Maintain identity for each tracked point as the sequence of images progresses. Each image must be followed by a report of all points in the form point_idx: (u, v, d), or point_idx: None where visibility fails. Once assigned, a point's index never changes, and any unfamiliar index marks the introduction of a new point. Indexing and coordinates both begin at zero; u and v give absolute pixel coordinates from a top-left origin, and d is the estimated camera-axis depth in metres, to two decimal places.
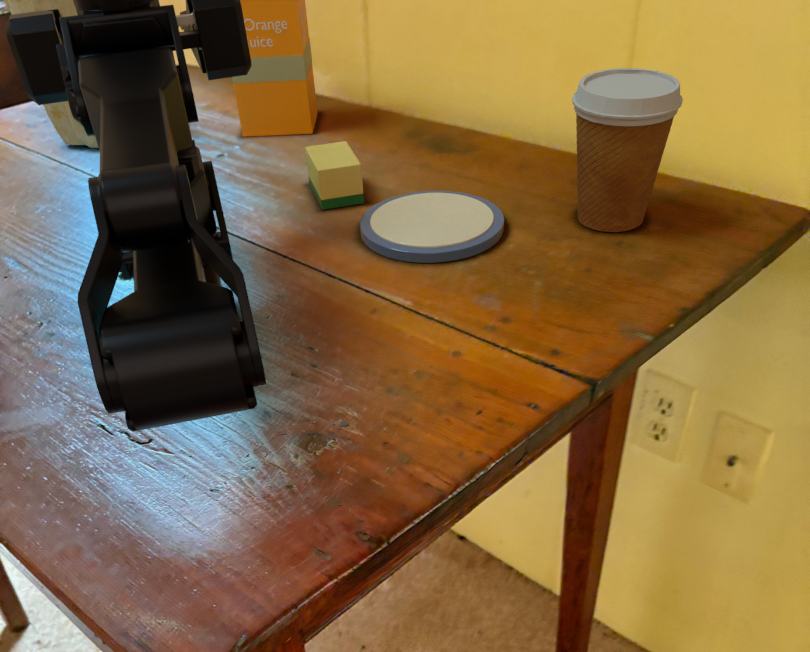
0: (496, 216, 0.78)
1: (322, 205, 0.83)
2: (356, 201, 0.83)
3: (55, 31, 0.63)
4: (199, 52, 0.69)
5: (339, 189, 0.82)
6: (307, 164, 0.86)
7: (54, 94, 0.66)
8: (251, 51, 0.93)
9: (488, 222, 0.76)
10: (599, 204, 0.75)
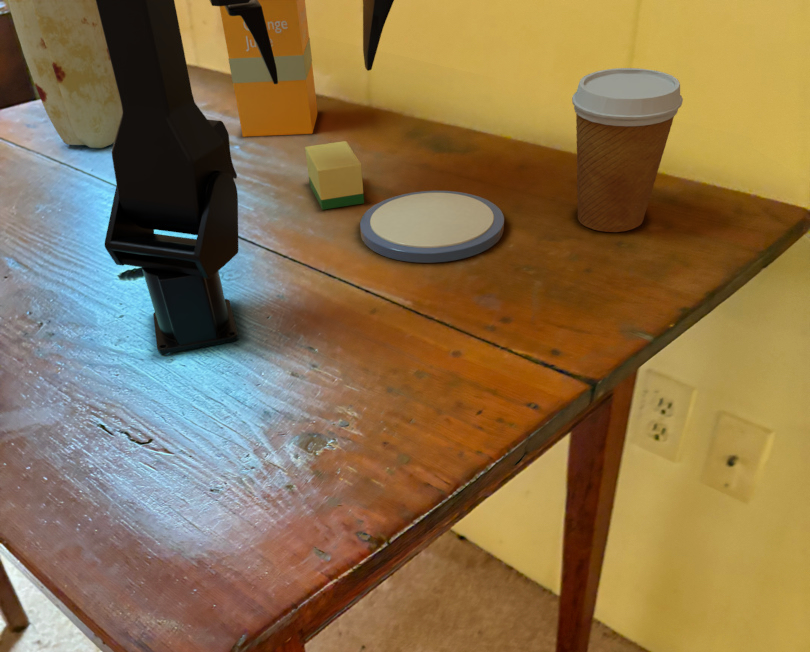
0: (496, 216, 0.78)
1: (322, 205, 0.83)
2: (356, 201, 0.83)
3: None
4: None
5: (339, 189, 0.82)
6: (307, 164, 0.86)
7: None
8: (251, 51, 0.93)
9: (488, 222, 0.76)
10: (599, 204, 0.75)
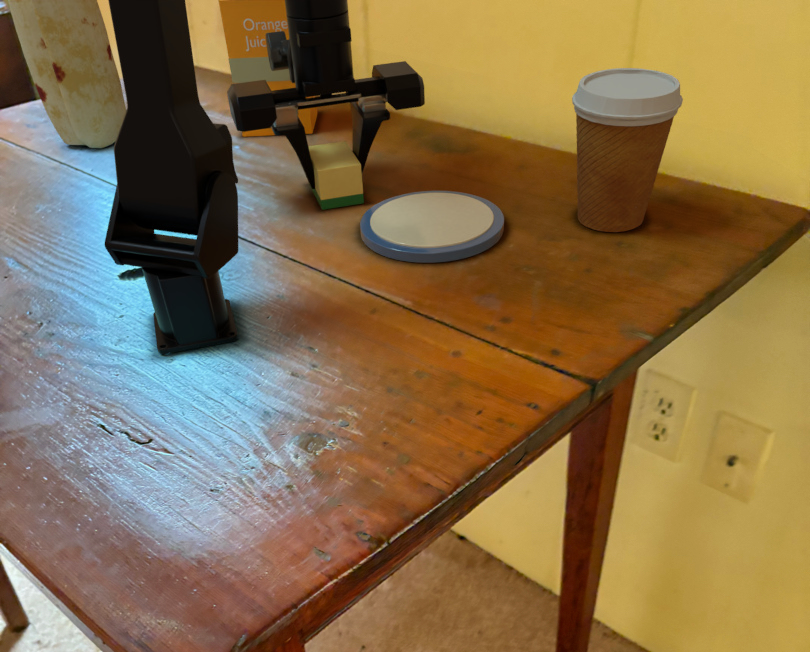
0: (496, 216, 0.78)
1: (322, 205, 0.83)
2: (356, 201, 0.83)
3: (264, 80, 0.78)
4: (360, 113, 0.79)
5: (339, 189, 0.82)
6: None
7: (254, 97, 0.75)
8: (251, 51, 0.93)
9: (488, 222, 0.76)
10: (599, 204, 0.75)
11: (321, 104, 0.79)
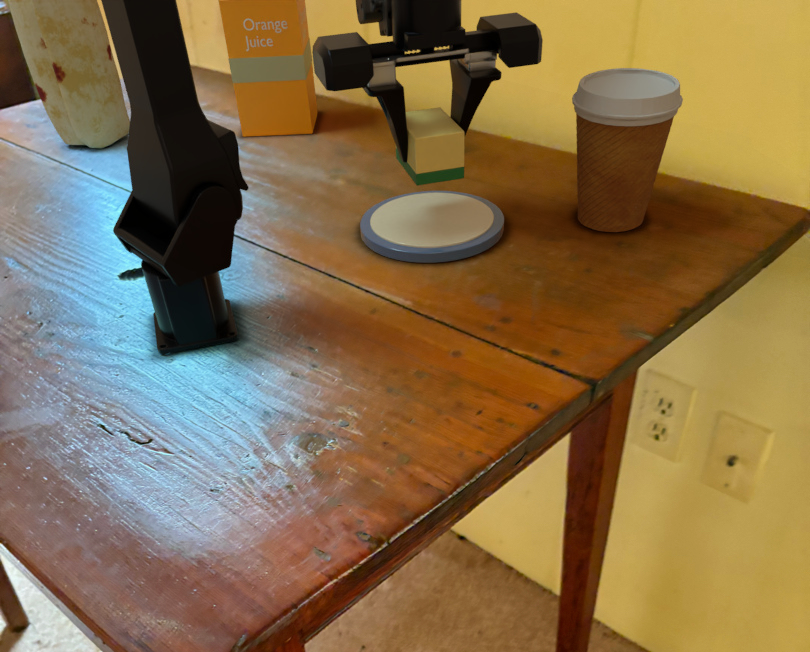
0: (496, 216, 0.78)
1: (417, 180, 0.71)
2: (455, 176, 0.72)
3: (356, 32, 0.67)
4: (466, 72, 0.68)
5: (437, 161, 0.71)
6: None
7: (348, 50, 0.64)
8: (251, 51, 0.93)
9: (488, 222, 0.76)
10: (599, 204, 0.75)
11: (421, 61, 0.68)
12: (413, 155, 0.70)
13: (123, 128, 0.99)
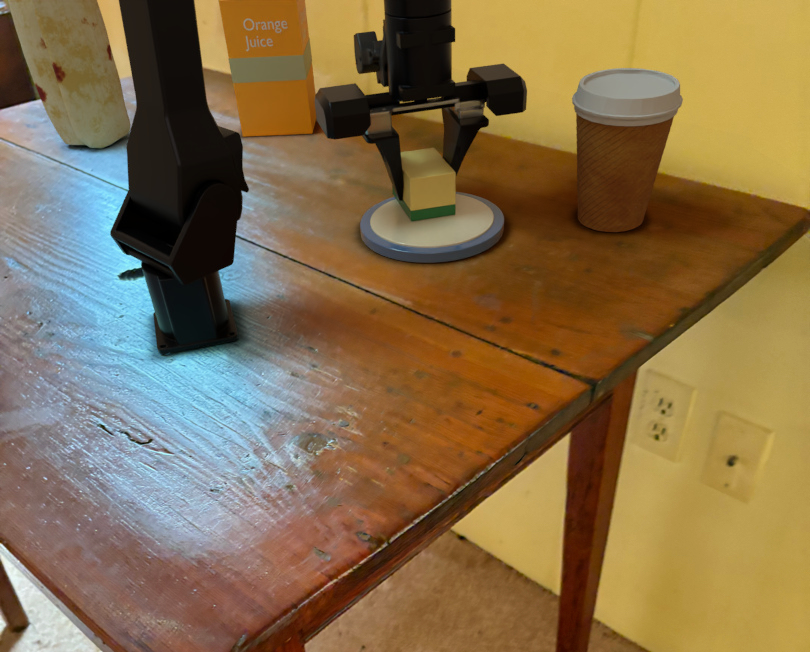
0: (496, 216, 0.78)
1: (411, 216, 0.77)
2: (447, 212, 0.77)
3: (355, 84, 0.73)
4: (456, 120, 0.74)
5: (430, 199, 0.76)
6: None
7: (348, 102, 0.69)
8: (251, 51, 0.93)
9: (488, 222, 0.76)
10: (599, 204, 0.75)
11: (415, 110, 0.73)
12: (408, 193, 0.76)
13: (123, 128, 0.99)
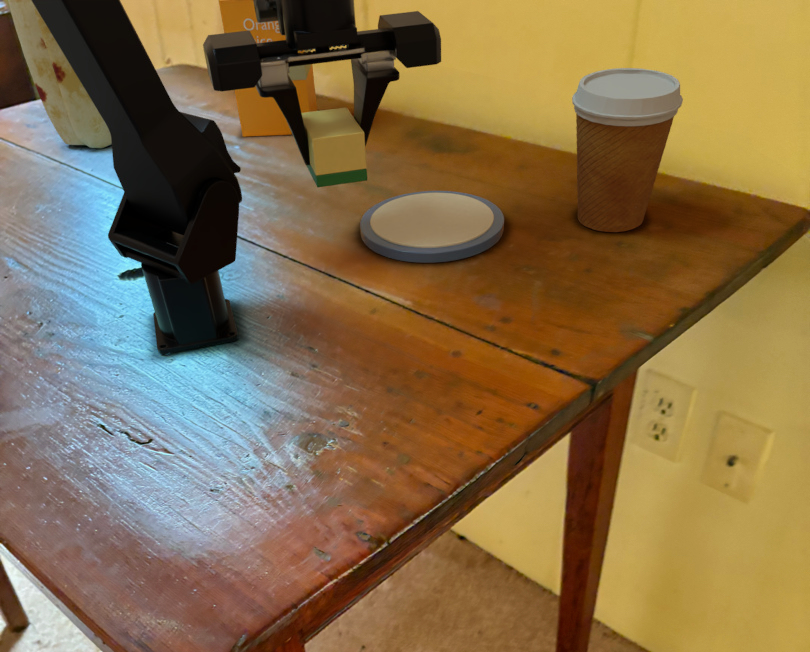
0: (496, 216, 0.78)
1: (317, 182, 0.69)
2: (358, 178, 0.70)
3: (248, 31, 0.65)
4: (363, 72, 0.66)
5: (338, 162, 0.68)
6: None
7: (234, 49, 0.62)
8: None
9: (488, 222, 0.76)
10: (599, 204, 0.75)
11: (316, 61, 0.65)
12: (312, 156, 0.68)
13: None
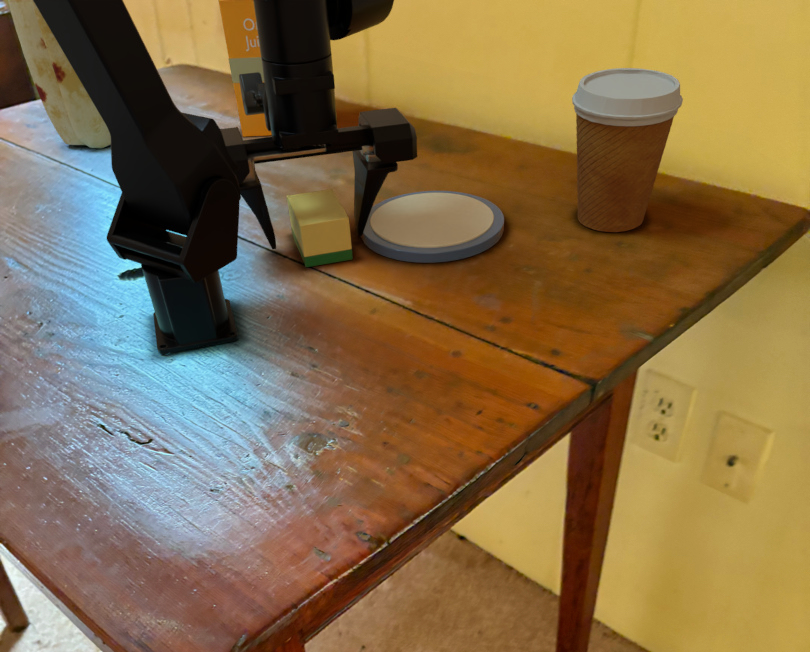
0: (496, 216, 0.78)
1: (305, 262, 0.74)
2: (344, 257, 0.74)
3: (237, 128, 0.69)
4: (364, 163, 0.71)
5: (324, 245, 0.73)
6: (289, 214, 0.77)
7: None
8: (251, 51, 0.93)
9: (488, 222, 0.76)
10: (599, 204, 0.75)
11: (301, 155, 0.70)
12: (300, 239, 0.73)
13: None
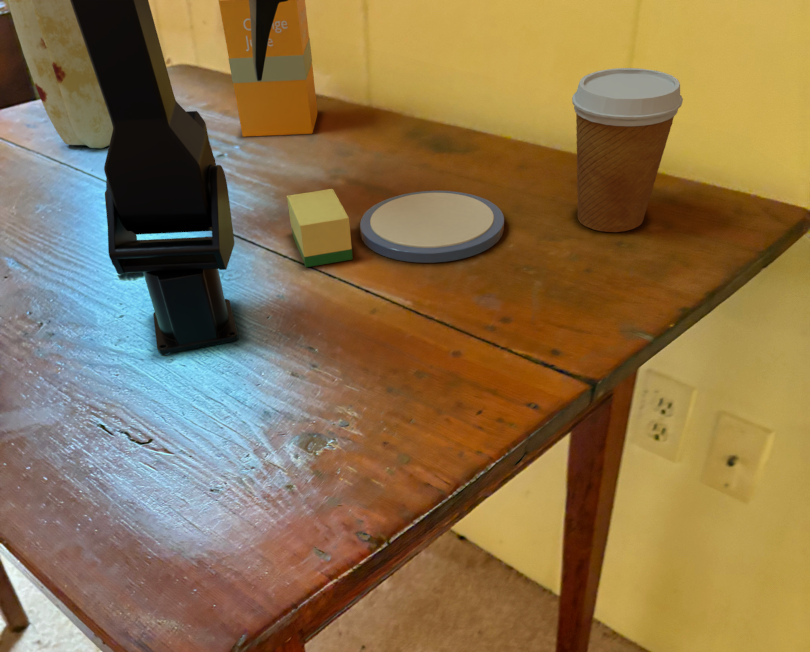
0: (496, 216, 0.78)
1: (305, 262, 0.74)
2: (344, 257, 0.74)
3: None
4: None
5: (324, 245, 0.73)
6: (289, 214, 0.77)
7: None
8: (251, 51, 0.93)
9: (488, 222, 0.76)
10: (599, 204, 0.75)
11: None
12: (300, 239, 0.73)
13: None
